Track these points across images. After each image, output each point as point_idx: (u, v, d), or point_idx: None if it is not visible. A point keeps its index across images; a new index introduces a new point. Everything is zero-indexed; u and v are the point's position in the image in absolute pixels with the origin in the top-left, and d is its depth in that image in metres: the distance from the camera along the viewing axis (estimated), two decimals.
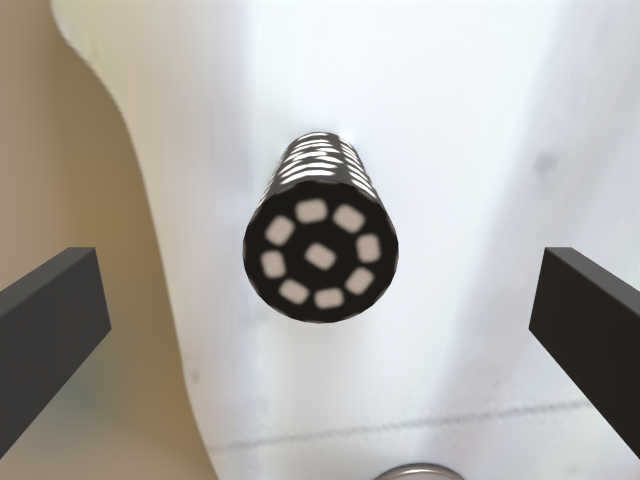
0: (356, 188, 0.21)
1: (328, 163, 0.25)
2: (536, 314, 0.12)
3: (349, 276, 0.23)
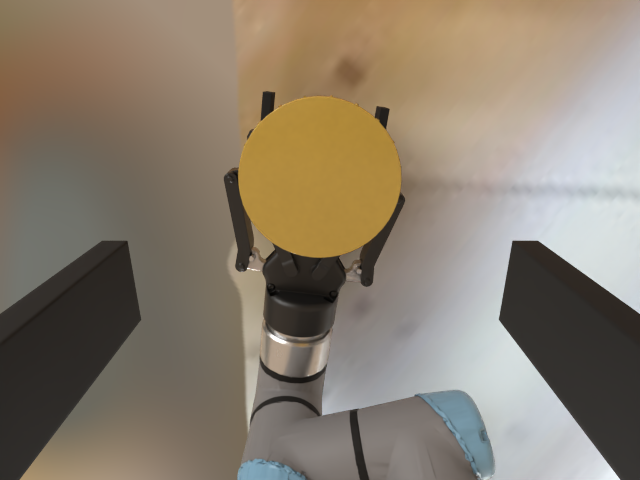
0: None
1: None
2: (505, 305, 0.13)
3: None
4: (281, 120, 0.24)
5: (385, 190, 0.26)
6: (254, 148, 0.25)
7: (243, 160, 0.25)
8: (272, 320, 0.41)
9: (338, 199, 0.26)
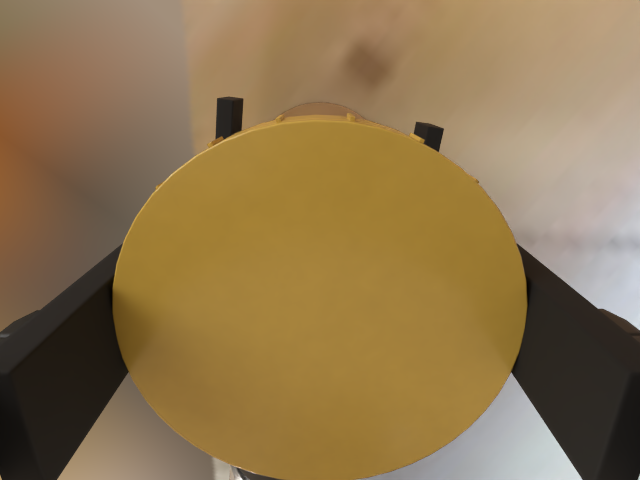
0: None
1: None
2: None
3: None
4: (214, 184, 0.09)
5: (483, 349, 0.10)
6: (147, 254, 0.10)
7: (121, 281, 0.10)
8: None
9: (365, 368, 0.11)
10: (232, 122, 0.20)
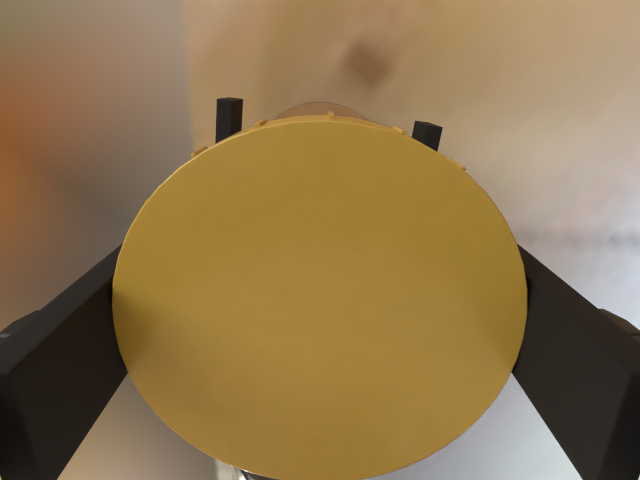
0: None
1: None
2: None
3: None
4: (188, 416, 0.11)
5: (325, 165, 0.09)
6: (257, 458, 0.12)
7: (285, 476, 0.12)
8: None
9: (360, 287, 0.10)
10: (232, 122, 0.20)
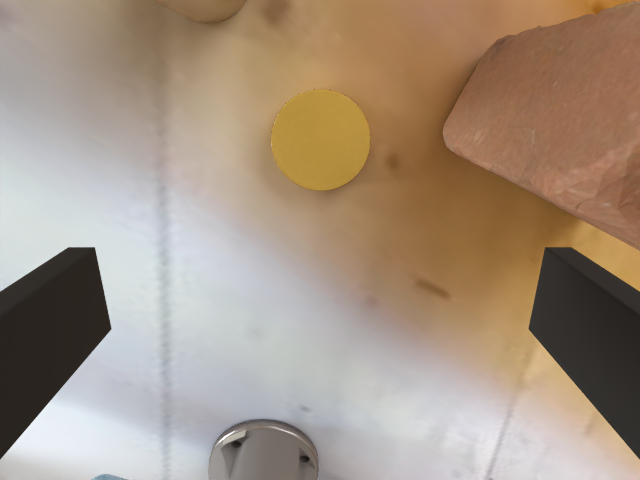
0: None
1: None
2: (536, 314, 0.12)
3: None
4: (351, 109, 0.41)
5: (326, 181, 0.44)
6: (330, 97, 0.41)
7: (322, 91, 0.41)
8: None
9: (313, 156, 0.43)
10: None
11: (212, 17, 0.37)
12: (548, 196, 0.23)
